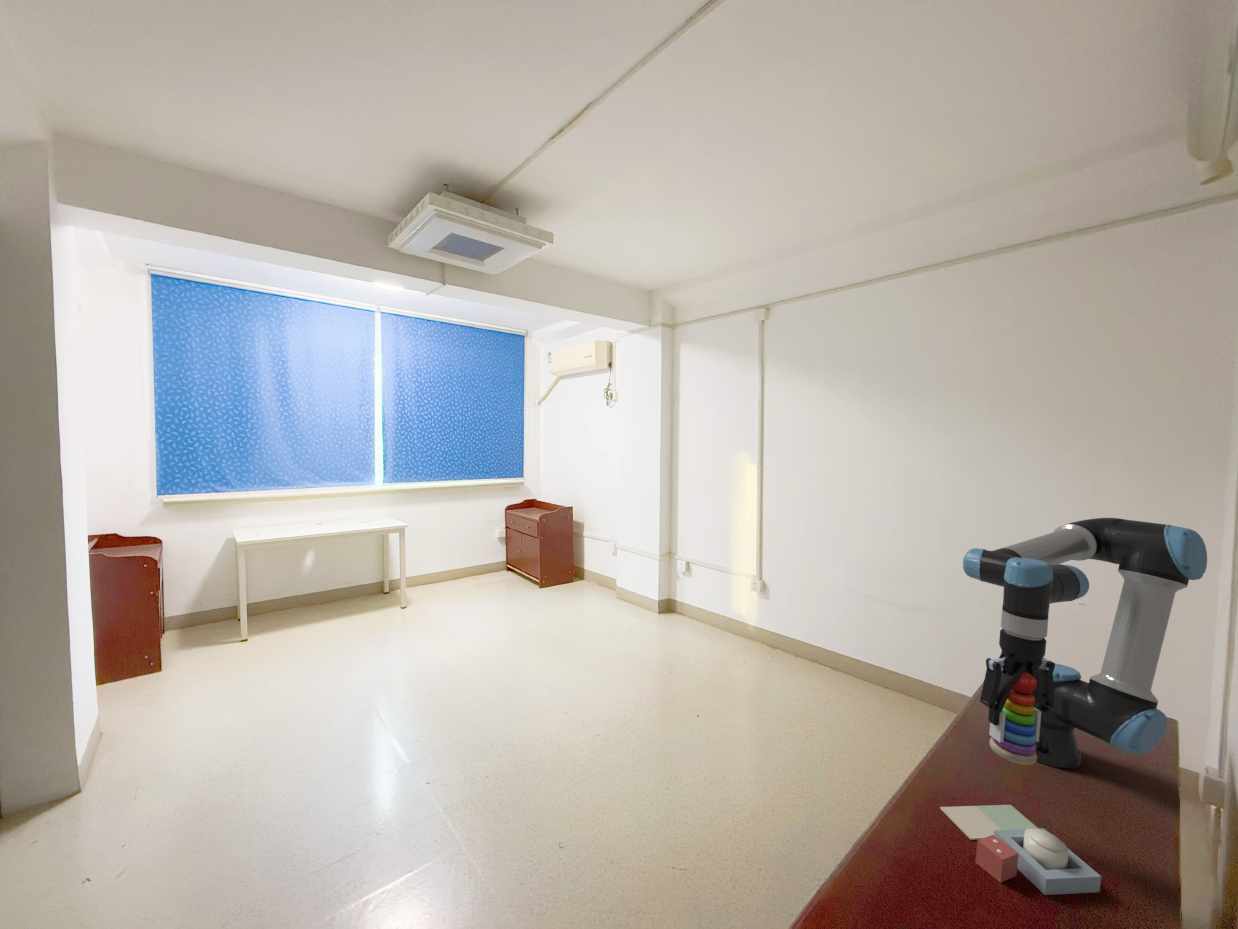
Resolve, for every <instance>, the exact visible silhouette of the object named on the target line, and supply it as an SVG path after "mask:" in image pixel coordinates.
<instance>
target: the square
mask: <svg viewBox="0 0 1238 929" xmlns="http://www.w3.org/2000/svg"><path fill="white" fill-rule="evenodd" d="M976 806H977V805H963V806H961V805H959V806H958V805H957V806H956V805H955V806H940V807H939V809H940V810H941V811H942V812H943V813H944V814H945V815H946V816H947V817H948V818H949V819H950V821H951V822H953V823H954V824H955V825H956V826H957V828H959V830H960V831H961V832H963V833H964V835H965V836H966V837H968V839H969V840H970V841H972V840H973V841H975V840H977V841H978V840H980V839H983V838H985V837H988V836H991V835H994V830H1001V829H1000V828H999V827H998V826H997V825H996V824H995V823H994V822H992V821H991V820H990V819H989V818H988V817H987V816H986V815H985V814H984V813H983V812H982V811H981V810H979V809H978V808H977V807H976Z"/></svg>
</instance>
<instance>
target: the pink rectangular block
mask: <svg viewBox="0 0 1238 929" xmlns="http://www.w3.org/2000/svg"><path fill="white" fill-rule="evenodd" d="M1018 855H1019V853H1018V852H1016V851H1015V850H1014V849H1012V848H1011V847H1009V846H1008V845H1007V844H1005V843H1004V842H1003V841H1001V840H1000V839H999V838H997V837H996V836H994V835H991V836H988V837H985V838H983V839H980V840H977V841H976V852H975V861H974V862H975V864H976V865H978V867H980V868H982V870H984V871H986V872H987V873H988V874H989V875H990V876H992V878H994V879H995V880H996V881H998V882H999V883H1003V882H1006V881H1008V880H1010V879H1013V878H1015V877H1017V872H1018V868H1017V865H1018Z"/></svg>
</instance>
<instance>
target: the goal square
mask: <svg viewBox="0 0 1238 929" xmlns="http://www.w3.org/2000/svg"><path fill="white" fill-rule="evenodd" d="M975 806H976V807H977V808H978V809H979V810H981V811H982V812H983V813H984V814H985V815H986V816H987V817H988V818H989V819H990V820H991V821H992V822H994V823H995V824H996V825H997V826H998V827H999V828H1000V829H1001V830H1012V829H1030V828H1033V829H1038V828H1039V827H1037V826H1036V825H1035V824H1034V823H1033V822H1032V821H1031V820H1029V819H1028V818H1027V817H1026V816H1024V815H1023V814H1022V813H1021V812H1020V811H1019V810H1017V809H1016V808H1015V807H1014V806H1013V805H1011V804H996V805H994V804H993V805H991V804H989V805H988V804H987V805H975Z"/></svg>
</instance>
